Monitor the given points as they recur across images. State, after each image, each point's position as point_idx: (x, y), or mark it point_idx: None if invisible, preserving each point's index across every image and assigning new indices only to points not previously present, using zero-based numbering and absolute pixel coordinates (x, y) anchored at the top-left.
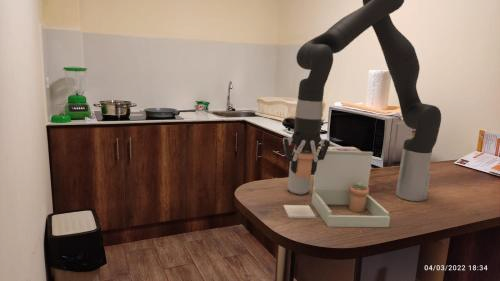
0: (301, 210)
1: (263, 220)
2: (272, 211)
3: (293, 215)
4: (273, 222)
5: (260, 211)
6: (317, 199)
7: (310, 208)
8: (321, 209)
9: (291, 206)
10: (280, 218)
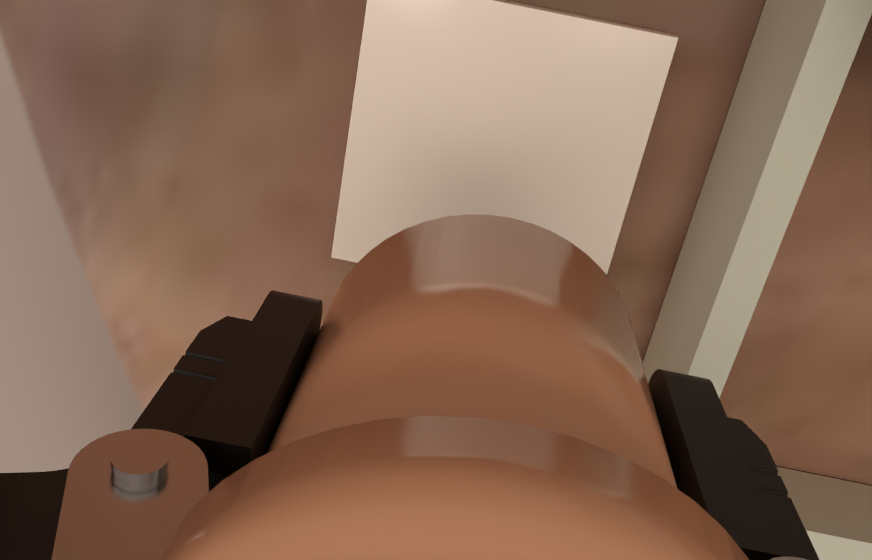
0: (515, 161)
1: (82, 256)
2: (210, 78)
3: None
4: (165, 307)
5: (81, 56)
6: (759, 154)
7: (649, 126)
8: (686, 305)
9: (449, 34)
10: (249, 246)
